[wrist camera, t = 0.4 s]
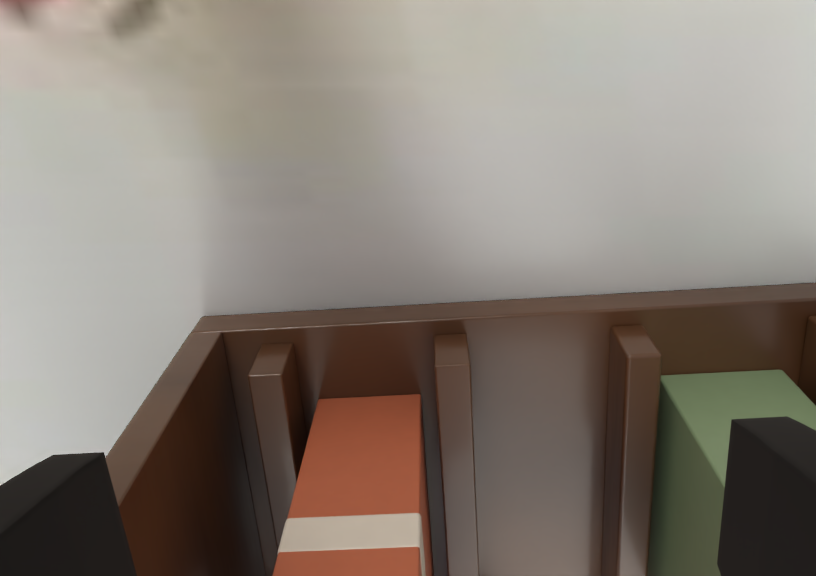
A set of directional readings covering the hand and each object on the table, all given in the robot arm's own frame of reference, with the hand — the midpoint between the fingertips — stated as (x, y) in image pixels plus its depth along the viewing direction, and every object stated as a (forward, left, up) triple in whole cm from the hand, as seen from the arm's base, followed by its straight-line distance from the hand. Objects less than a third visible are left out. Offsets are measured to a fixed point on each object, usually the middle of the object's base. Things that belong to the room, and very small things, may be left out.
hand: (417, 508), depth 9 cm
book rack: (-7, -3, -10) cm, 12 cm away
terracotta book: (-7, +1, -9) cm, 11 cm away
